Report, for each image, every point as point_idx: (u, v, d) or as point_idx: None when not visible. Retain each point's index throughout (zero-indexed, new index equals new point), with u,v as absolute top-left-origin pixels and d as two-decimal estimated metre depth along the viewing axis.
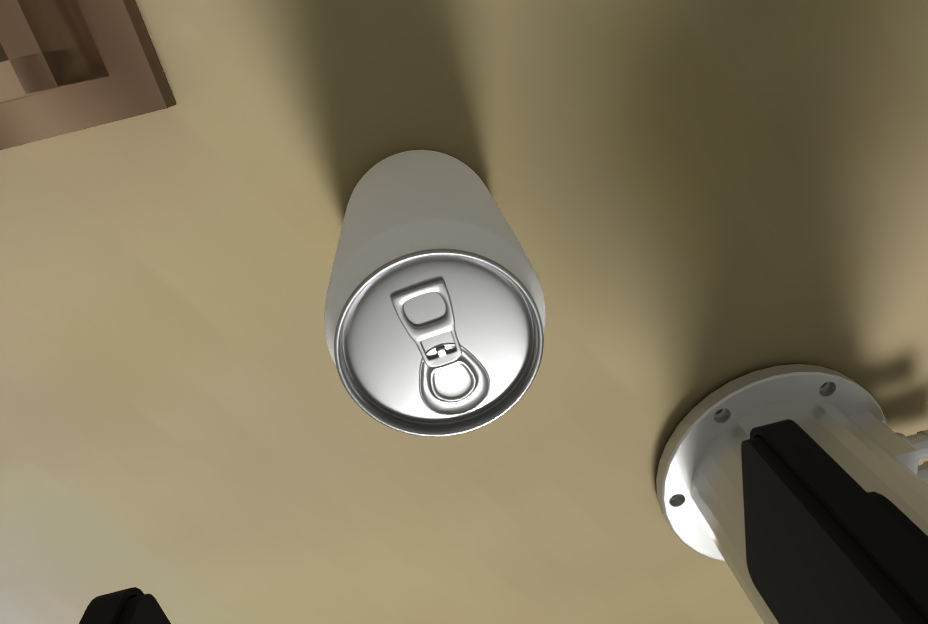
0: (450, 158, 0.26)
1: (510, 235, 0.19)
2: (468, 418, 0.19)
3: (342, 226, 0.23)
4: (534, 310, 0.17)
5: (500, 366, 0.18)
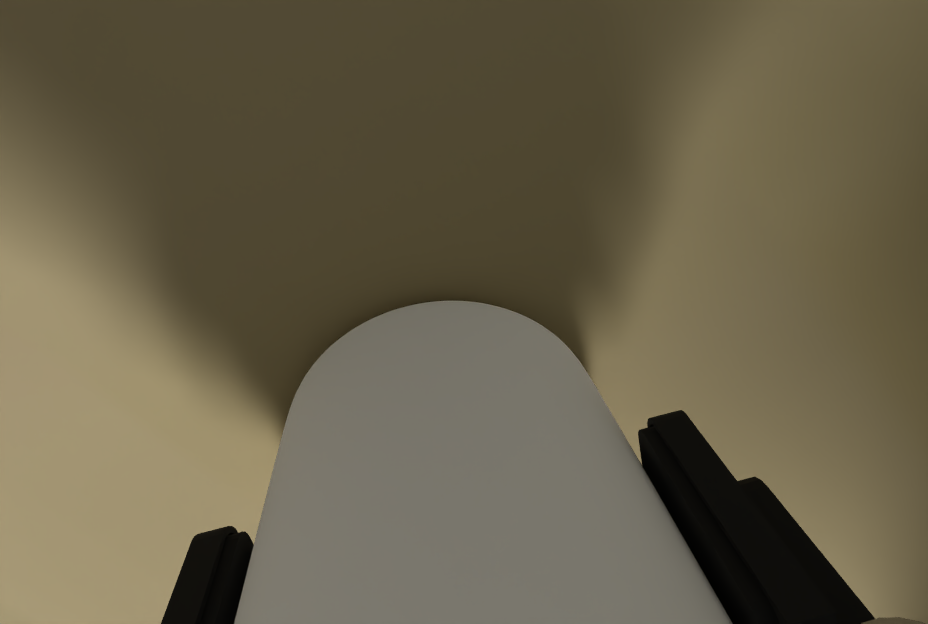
0: (516, 328, 0.11)
1: None
2: None
3: (250, 563, 0.09)
4: None
5: None
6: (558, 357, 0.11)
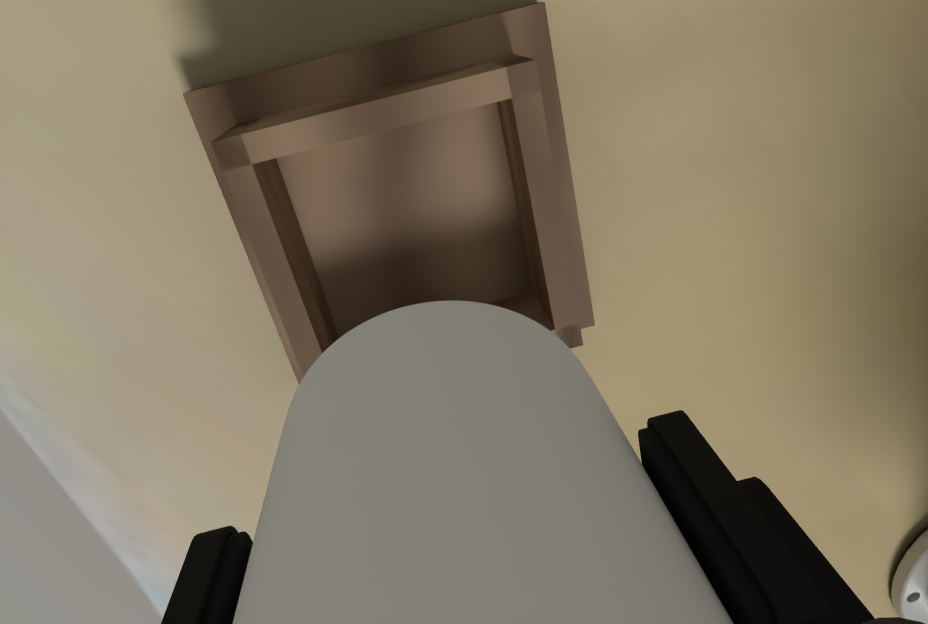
0: (517, 328, 0.11)
1: None
2: None
3: (248, 565, 0.09)
4: None
5: None
6: (559, 357, 0.11)
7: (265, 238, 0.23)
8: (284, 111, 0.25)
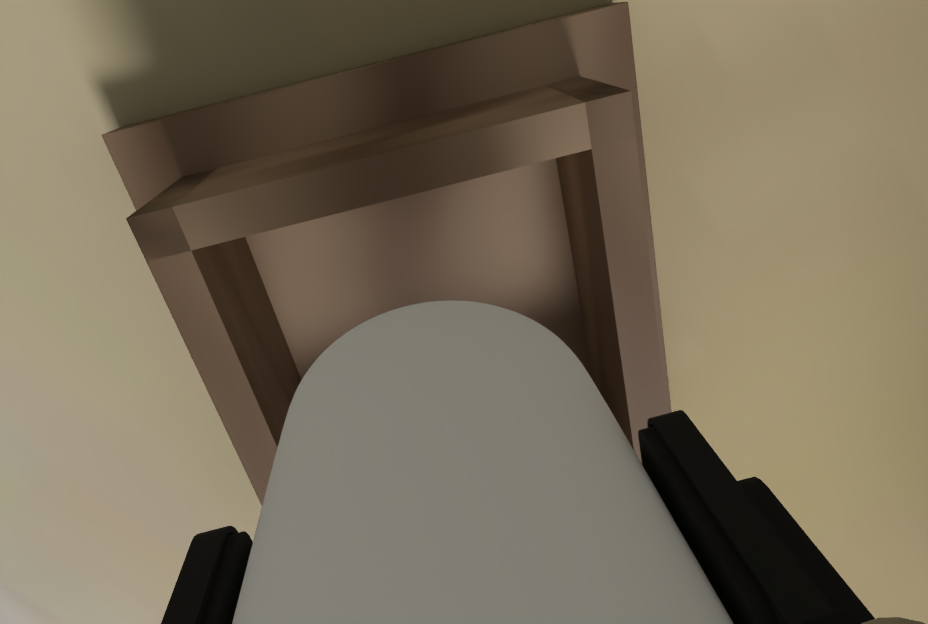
0: (517, 328, 0.11)
1: None
2: None
3: (247, 565, 0.09)
4: None
5: None
6: (559, 357, 0.11)
7: (216, 355, 0.15)
8: (250, 159, 0.17)
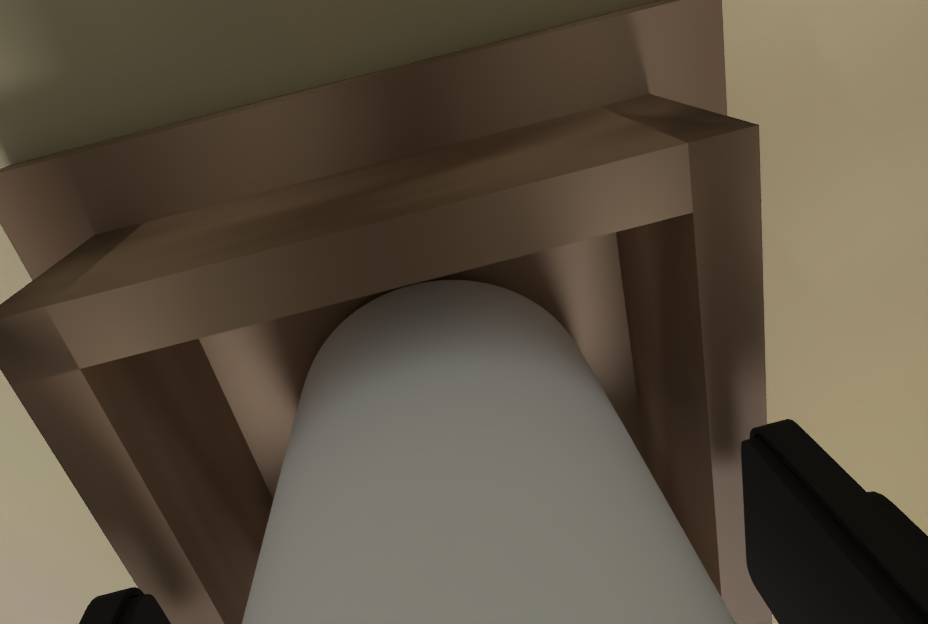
0: (511, 303, 0.12)
1: None
2: None
3: (272, 503, 0.10)
4: None
5: None
6: (549, 329, 0.12)
7: (128, 511, 0.10)
8: (189, 210, 0.12)
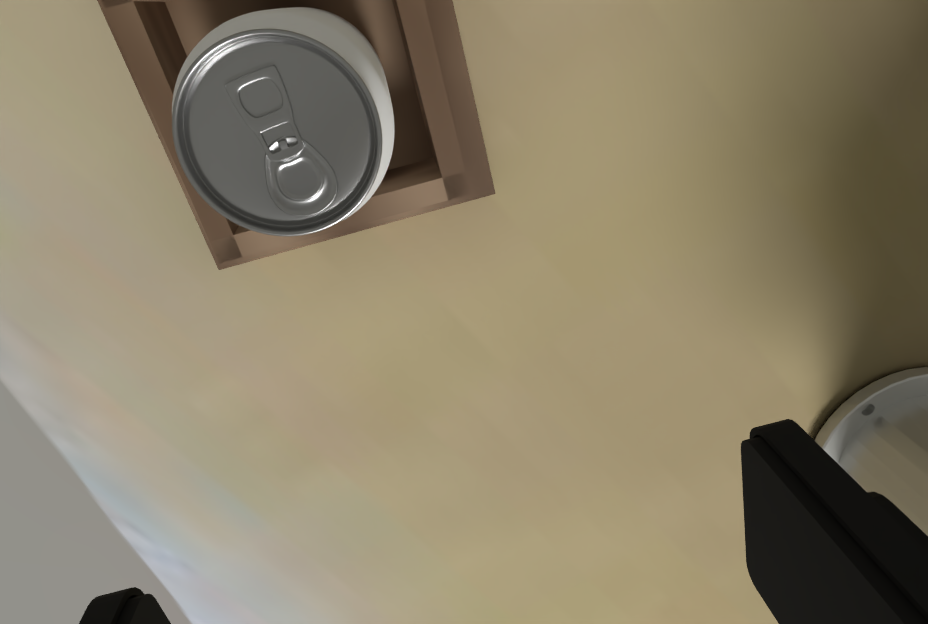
0: (330, 12, 0.26)
1: (355, 41, 0.19)
2: (321, 220, 0.19)
3: None
4: (367, 96, 0.17)
5: (345, 162, 0.18)
6: (347, 21, 0.26)
7: (152, 79, 0.24)
8: None
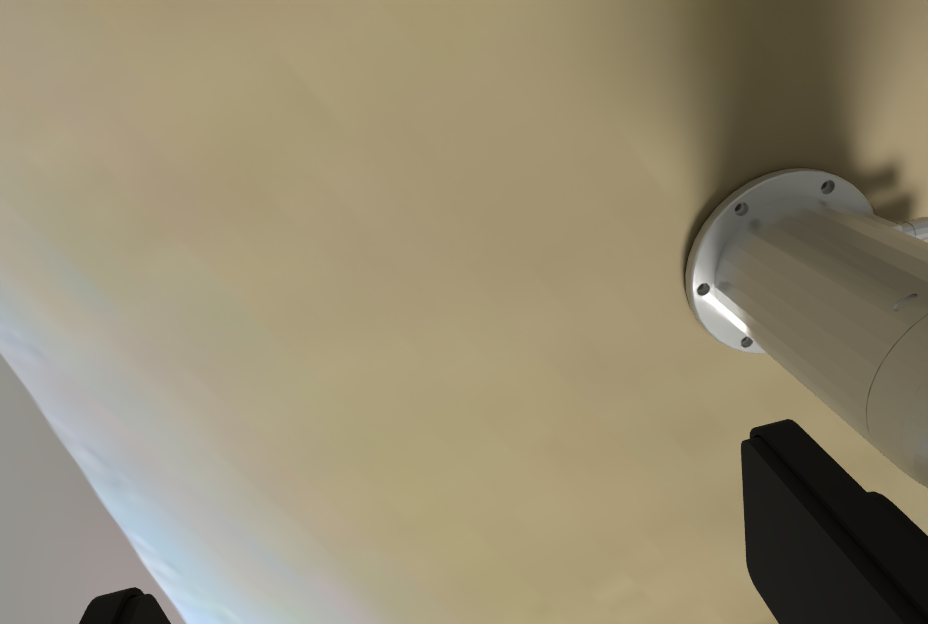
0: None
1: None
2: None
3: None
4: None
5: None
6: None
7: None
8: None
